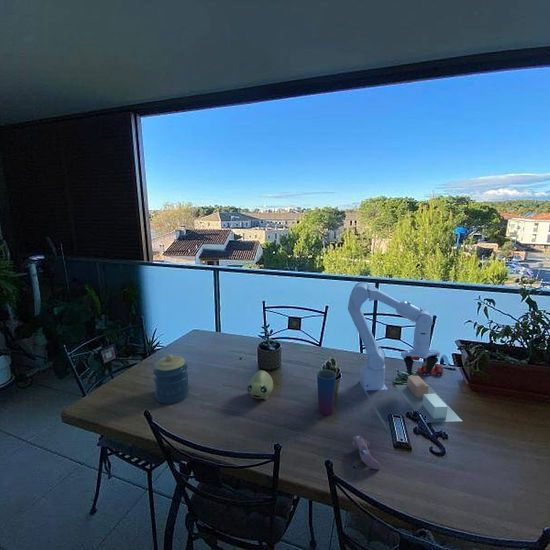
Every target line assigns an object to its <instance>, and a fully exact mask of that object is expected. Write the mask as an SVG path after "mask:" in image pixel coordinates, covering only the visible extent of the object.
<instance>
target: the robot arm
mask: <svg viewBox="0 0 550 550" xmlns="http://www.w3.org/2000/svg"><path fill="white" fill-rule="evenodd" d="M367 300H368V302H371V301H372V302H373V301H378V302H381V303H382V304H384V305H386V306H389V307H391V308H392V309H395V312H396V314H398V315H400V316H402V317H403V318H405V319H407V320H409V321H411V322H413V323H415V325H414V326H415V327H414V332H413V339H412V340H413V341H412V349H408V350H403V351H401V352H400V356H401V358H403V361H404V363H405V366H406V371H407V372H406V373H407V374H408V376H412V375H413V374H412V373H413V365H414V363H415V360H412V358H411V357H420V358H421V357H422V359H425V358H426V359H425V361H426V372H427V373H428V374H430V373H431V371H432V369H433V368H435V364H438V362H439V358H440V355H441V352H440V351H439V350H437V349H436V350H435V349H430V344H431V343H430V341H431V329H432V326H433V324H434V322H433V318H432V316H431V313H430V312H429V311H428V310H426V309H425V308H424V309H423V308H422V307H417V306H415V305H413V304H412V301H409V300H407V301H406V300H401V301H399V300H397V299H396V298H394V297H392V296H390V295H389V294H387V293H386V292H384V291H382V290H381V289H379V288H377V287H375V286H373V284H372V285H371V284H368V283H367V282H366V281H359V282H357V283H356V284H355V285H354V287H353V288H352V290H351V292H350V295H349V299H348V305H347V311H348V313H349V315H350V317H351V319H352V322H353V325H354V326H355V328H356V331H357V333H358V335H359V337H360V339H361V341H362V344H363V346H364V348H365V354H366V356H367V363H366V364H364V365H361V366H360V373H359V383H360V385H361V386H362V387H361V388H363V390H364V391H365V392H367V391H382V390H383V391H387V390H388V387H387V386H386V384H385V375H386V364H385V356H386V354H385V350H384V349H383V348H382V347H381V346H380V345H379V343H378V342H377V340H376V339H375V336H374V334H373V332H372V330H371V328H370V326H369V323H368V321H367V318H366V317H365V314H364V312H363V310H362V308H361V307H362V306H363V304H365V302H366V301H367Z"/></svg>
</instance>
